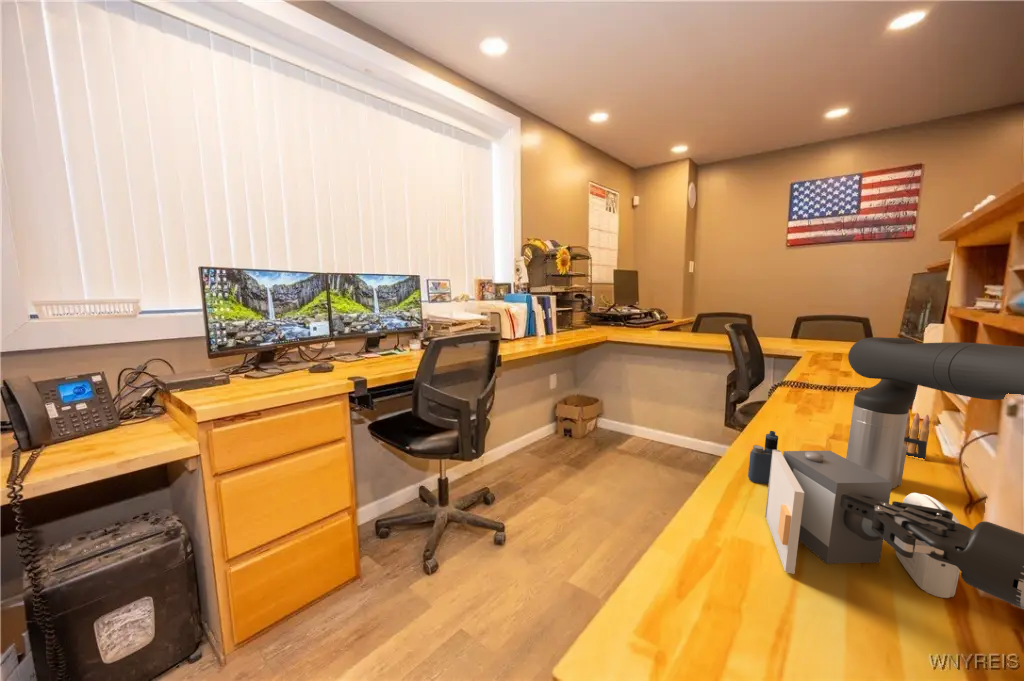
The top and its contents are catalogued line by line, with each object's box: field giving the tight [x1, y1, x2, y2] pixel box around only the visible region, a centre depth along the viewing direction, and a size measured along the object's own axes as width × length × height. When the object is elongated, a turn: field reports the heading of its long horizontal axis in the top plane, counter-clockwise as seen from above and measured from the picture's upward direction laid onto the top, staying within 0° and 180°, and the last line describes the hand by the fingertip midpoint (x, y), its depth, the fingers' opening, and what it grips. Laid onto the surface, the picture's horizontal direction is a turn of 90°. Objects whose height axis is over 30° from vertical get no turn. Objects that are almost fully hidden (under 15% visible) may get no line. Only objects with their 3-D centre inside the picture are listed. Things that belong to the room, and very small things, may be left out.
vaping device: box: [747, 430, 779, 485], centre depth 92 cm, size 3×5×12 cm, turn 78°
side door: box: [764, 449, 804, 575], centre depth 70 cm, size 2×17×14 cm, turn 157°
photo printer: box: [894, 492, 961, 599], centre depth 62 cm, size 10×4×12 cm, turn 156°
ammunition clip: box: [904, 411, 930, 460], centre depth 108 cm, size 11×2×12 cm, turn 41°
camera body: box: [782, 450, 892, 564], centre depth 70 cm, size 9×14×15 cm, turn 2°
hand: (843, 499), depth 58 cm, fingers closed
